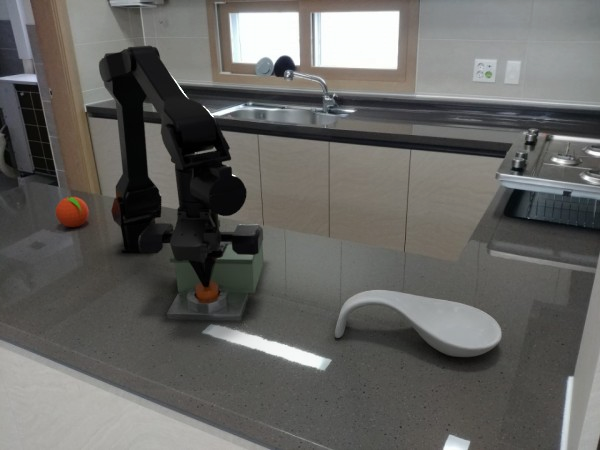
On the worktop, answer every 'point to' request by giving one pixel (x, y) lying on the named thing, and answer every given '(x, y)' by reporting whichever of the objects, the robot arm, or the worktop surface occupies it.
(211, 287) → the button
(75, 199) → the clementine
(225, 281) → the fryer
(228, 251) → the lid
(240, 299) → the control panel
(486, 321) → the spoon rest
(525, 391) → the worktop surface
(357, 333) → the worktop surface
